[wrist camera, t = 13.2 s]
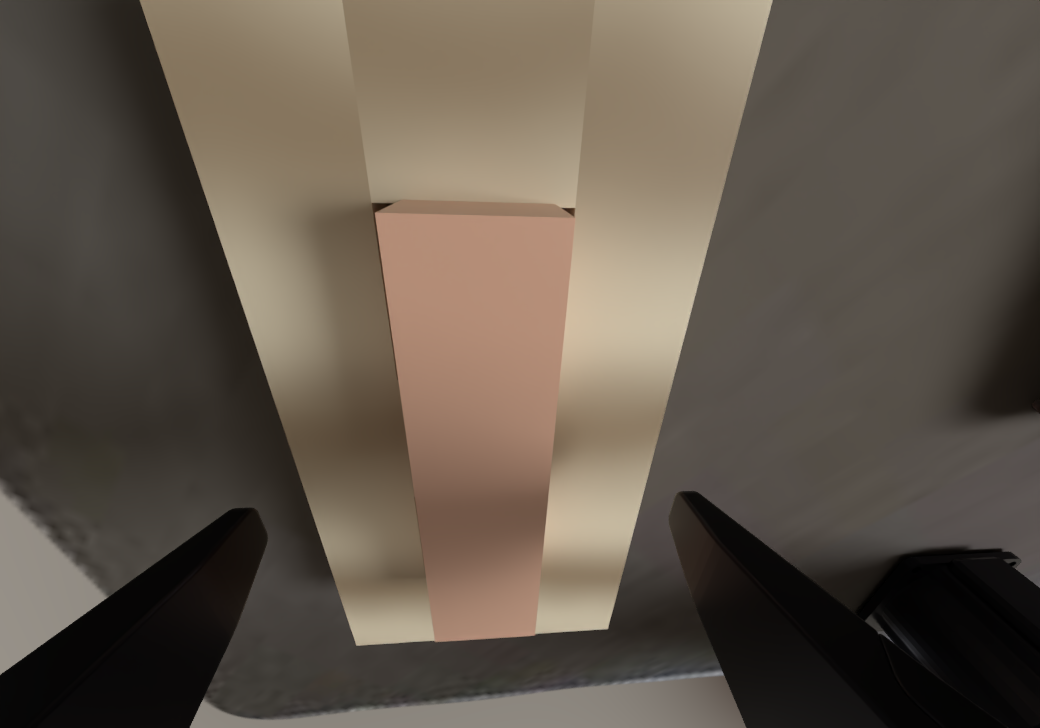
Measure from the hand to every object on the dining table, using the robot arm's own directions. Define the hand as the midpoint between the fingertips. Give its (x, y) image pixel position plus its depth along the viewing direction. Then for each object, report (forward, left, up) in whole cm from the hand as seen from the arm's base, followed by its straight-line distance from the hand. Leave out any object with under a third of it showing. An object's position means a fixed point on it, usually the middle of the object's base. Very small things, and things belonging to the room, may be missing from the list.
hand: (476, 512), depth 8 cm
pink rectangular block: (0, 0, -5) cm, 5 cm away
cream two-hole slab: (0, 0, -5) cm, 5 cm away
